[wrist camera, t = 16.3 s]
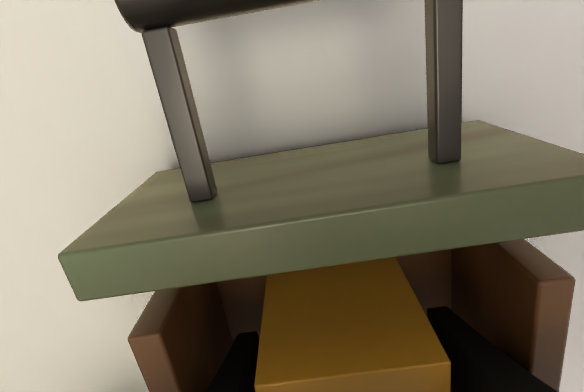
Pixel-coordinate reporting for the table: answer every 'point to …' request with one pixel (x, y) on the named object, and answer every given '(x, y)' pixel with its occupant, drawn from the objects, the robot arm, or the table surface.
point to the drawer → (333, 217)
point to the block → (348, 333)
